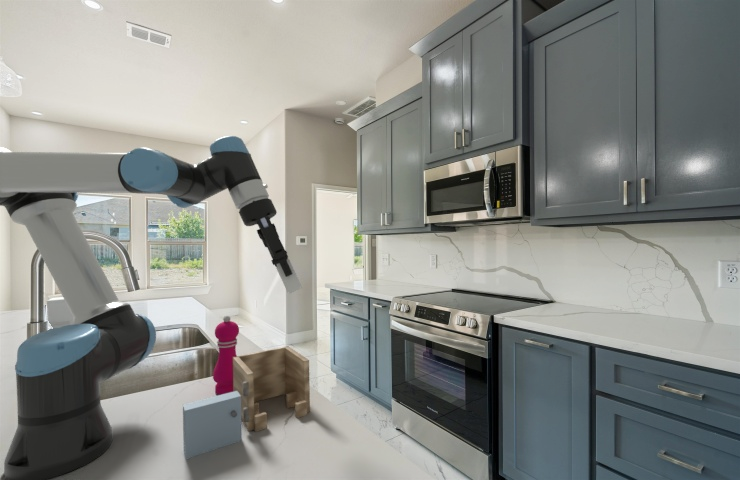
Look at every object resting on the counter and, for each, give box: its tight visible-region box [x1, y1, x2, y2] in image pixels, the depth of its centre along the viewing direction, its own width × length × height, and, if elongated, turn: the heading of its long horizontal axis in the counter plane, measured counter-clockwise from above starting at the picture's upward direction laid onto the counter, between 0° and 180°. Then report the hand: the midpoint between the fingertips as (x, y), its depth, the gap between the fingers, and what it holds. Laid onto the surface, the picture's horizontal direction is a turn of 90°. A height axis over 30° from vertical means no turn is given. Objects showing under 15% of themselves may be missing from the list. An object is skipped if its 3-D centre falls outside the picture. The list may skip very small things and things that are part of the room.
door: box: [182, 391, 243, 460], centre depth 67 cm, size 10×4×9 cm, turn 124°
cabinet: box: [233, 346, 311, 432], centre depth 81 cm, size 15×14×12 cm
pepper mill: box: [212, 315, 240, 396], centre depth 92 cm, size 7×7×20 cm
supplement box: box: [46, 296, 75, 329], centre depth 157 cm, size 9×9×15 cm
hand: (294, 290), depth 77 cm, fingers open, 13 cm apart
